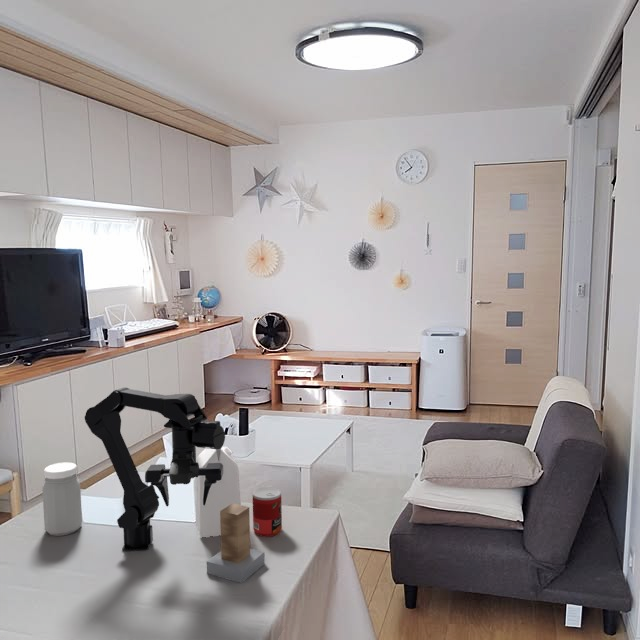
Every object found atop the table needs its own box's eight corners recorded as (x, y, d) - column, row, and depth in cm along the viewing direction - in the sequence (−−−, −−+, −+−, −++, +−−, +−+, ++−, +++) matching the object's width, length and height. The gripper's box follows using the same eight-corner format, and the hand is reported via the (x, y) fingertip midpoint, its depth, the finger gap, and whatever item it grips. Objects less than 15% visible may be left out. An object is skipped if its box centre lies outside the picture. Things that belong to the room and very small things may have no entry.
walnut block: (221, 558, 147) (220, 511, 145) (233, 550, 151) (232, 503, 150) (238, 563, 144) (237, 514, 143) (250, 554, 149) (249, 507, 148)
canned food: (277, 538, 164) (277, 499, 163) (249, 535, 165) (248, 496, 164) (285, 526, 171) (284, 488, 170) (257, 523, 173) (257, 486, 172)
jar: (79, 519, 177) (76, 458, 175) (85, 531, 169) (82, 468, 167) (42, 526, 172) (38, 465, 170) (47, 540, 163) (43, 475, 162)
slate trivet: (206, 573, 146) (206, 561, 146) (231, 555, 155) (230, 543, 154) (241, 583, 141) (241, 570, 141) (264, 563, 150) (264, 552, 150)
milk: (195, 520, 175) (192, 432, 173) (235, 514, 179) (232, 428, 176) (199, 538, 164) (197, 444, 161) (242, 532, 167) (240, 440, 165)
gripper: (138, 456, 144) (141, 520, 145) (218, 454, 145) (219, 517, 146) (149, 442, 155) (151, 501, 156) (222, 440, 156) (224, 499, 157)
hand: (186, 505), depth 154 cm, fingers open, 9 cm apart
